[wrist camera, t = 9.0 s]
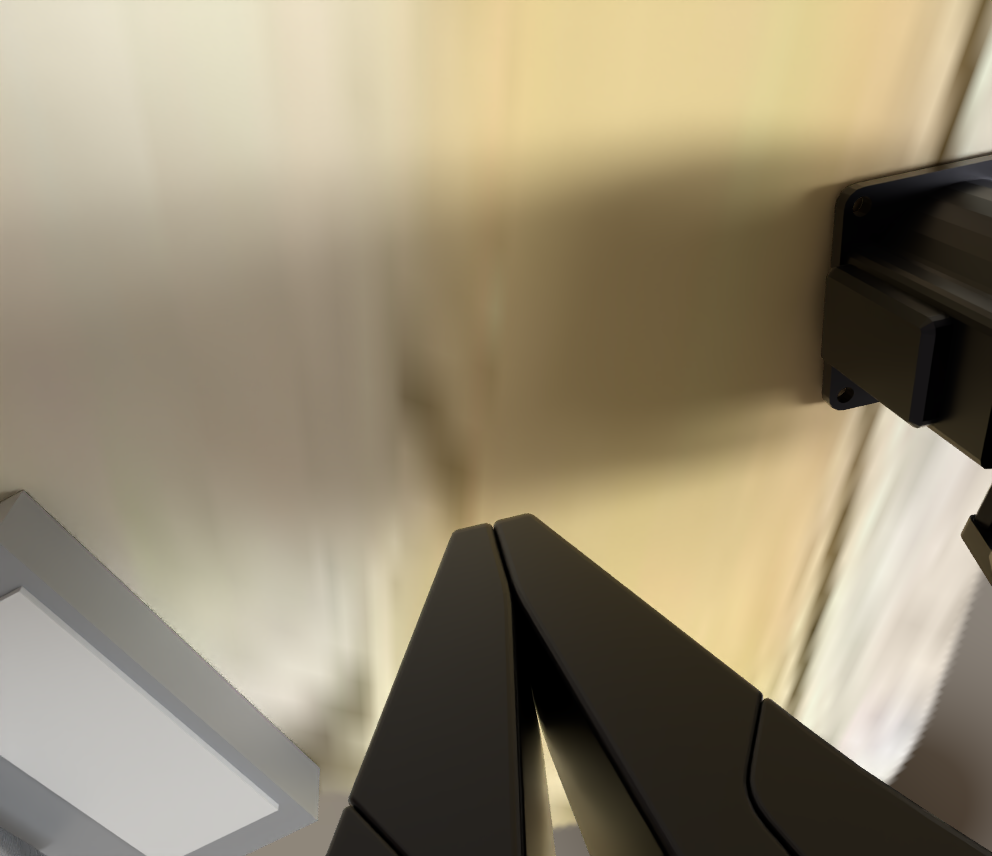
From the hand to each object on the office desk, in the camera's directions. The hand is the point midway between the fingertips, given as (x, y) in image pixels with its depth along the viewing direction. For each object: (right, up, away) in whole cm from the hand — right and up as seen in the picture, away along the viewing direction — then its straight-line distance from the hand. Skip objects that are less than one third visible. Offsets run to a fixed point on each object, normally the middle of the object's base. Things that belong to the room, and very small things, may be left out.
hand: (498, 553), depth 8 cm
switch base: (-15, -9, +16) cm, 24 cm away
